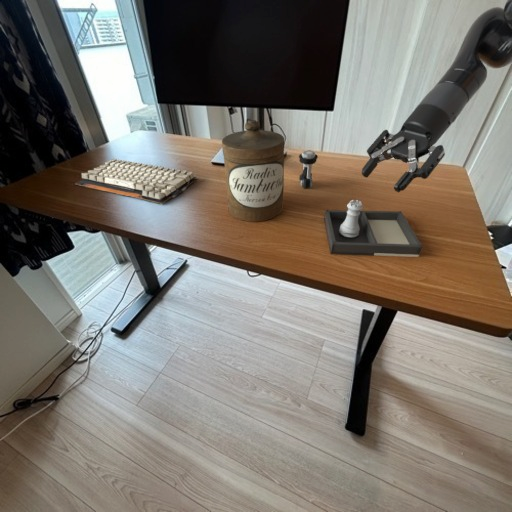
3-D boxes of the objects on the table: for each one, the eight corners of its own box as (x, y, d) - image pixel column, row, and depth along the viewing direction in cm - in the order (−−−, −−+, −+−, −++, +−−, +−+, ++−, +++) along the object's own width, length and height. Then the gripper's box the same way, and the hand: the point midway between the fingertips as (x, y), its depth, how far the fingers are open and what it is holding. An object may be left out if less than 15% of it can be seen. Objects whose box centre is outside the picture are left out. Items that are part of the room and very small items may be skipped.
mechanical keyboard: (73, 185, 88) (69, 175, 86) (118, 164, 102) (115, 155, 100) (165, 206, 76) (162, 195, 74) (202, 180, 89) (200, 170, 87)
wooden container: (233, 226, 67) (224, 132, 53) (225, 198, 78) (215, 115, 64) (290, 217, 69) (295, 125, 55) (274, 192, 80) (275, 110, 66)
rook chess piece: (362, 232, 62) (370, 201, 57) (352, 241, 60) (360, 210, 55) (344, 225, 65) (351, 195, 60) (335, 233, 62) (341, 203, 57)
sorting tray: (397, 220, 67) (401, 211, 65) (418, 257, 56) (423, 246, 54) (324, 219, 68) (325, 209, 67) (330, 254, 58) (332, 244, 56)
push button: (292, 181, 86) (294, 149, 79) (308, 178, 87) (311, 147, 80) (301, 190, 81) (303, 157, 74) (317, 187, 82) (321, 154, 76)
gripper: (398, 97, 56) (348, 162, 60) (468, 109, 47) (403, 186, 50) (407, 120, 62) (360, 179, 65) (471, 135, 52) (412, 204, 55)
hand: (379, 182), depth 57 cm, fingers open, 8 cm apart
